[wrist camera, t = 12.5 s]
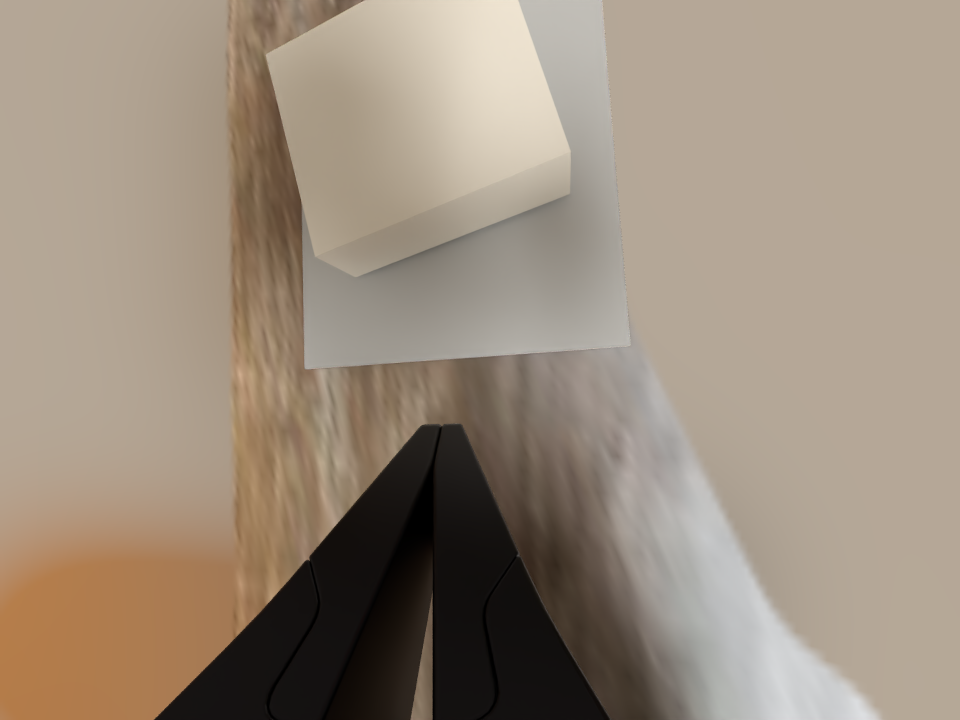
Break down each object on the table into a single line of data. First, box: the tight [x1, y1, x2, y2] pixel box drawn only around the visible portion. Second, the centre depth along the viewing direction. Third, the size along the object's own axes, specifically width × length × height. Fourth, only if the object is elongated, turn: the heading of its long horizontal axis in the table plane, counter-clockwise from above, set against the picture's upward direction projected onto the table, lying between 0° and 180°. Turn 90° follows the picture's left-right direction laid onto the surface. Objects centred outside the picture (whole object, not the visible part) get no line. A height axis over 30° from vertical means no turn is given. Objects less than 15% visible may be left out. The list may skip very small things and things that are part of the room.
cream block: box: [266, 0, 571, 277], centre depth 17 cm, size 4×11×10 cm
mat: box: [302, 0, 631, 369], centre depth 19 cm, size 18×16×1 cm
